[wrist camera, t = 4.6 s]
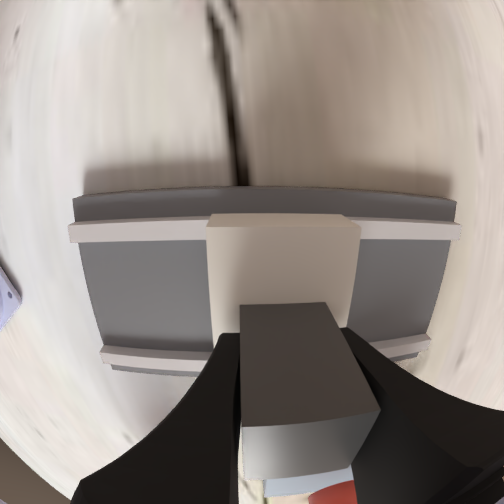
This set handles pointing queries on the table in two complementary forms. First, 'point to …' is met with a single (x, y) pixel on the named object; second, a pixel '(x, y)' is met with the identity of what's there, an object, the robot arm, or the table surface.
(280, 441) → the carriage
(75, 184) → the table surface
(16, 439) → the table surface
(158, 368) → the rail board
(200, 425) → the robot arm
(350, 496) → the button
